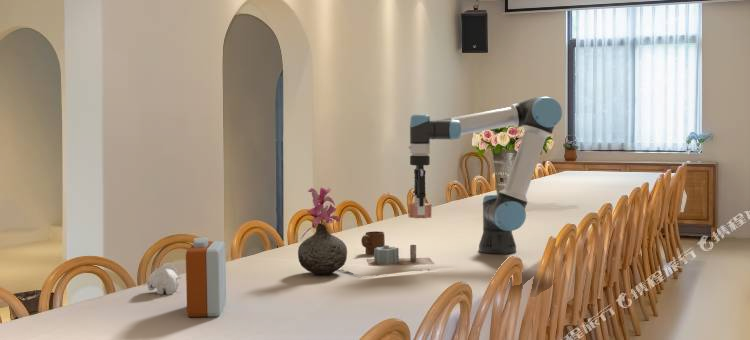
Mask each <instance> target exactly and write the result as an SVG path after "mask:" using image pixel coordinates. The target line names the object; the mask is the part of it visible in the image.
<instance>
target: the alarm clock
mask: <svg viewBox="0 0 750 340" xmlns="http://www.w3.org/2000/svg"><path fill="white" fill-rule="evenodd" d="M226 268H227V266H226V243H225V241H223V240H220V241H219V240H216V241H215V240H214V241H209V238H208V237H195V238H193V244H192V245H191V246H190V247H189V248H188V249H187V250H186V252H185V278H186V279H185V282H186V315H187V317H188V318H213V317H214V318H215V317H217V318H218V317H220V315H221V313H222V311H223V309H224V307H225V305H226V302H227V274H226V273H227V271H226V270H227V269H226Z"/></svg>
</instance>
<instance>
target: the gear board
mask: <svg viewBox="0 0 750 340" xmlns="http://www.w3.org/2000/svg"><path fill="white" fill-rule="evenodd" d="M389 247H390V245H389V244H387V245H386V244H385V245H384V246H383V249H389ZM409 247H410V248H409V255H410V256H409V257H402V258H401V257H400V258H399V262H397V263H389V264H385V263H380V264H379V263H377V262H374V258H366V259H365V260H366V262H367V264H368V266H369V267H370V266H374V267H375V266H406V265H407V266H410V265H411V266H413V265H415V266H416V265H417V266H418V265H435V263H434V261H433V260H432V259H431V258H430V257H417V245H416V244H410V246H409Z"/></svg>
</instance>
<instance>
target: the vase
mask: <svg viewBox="0 0 750 340" xmlns="http://www.w3.org/2000/svg"><path fill="white" fill-rule="evenodd" d="M307 192H308V193H311V197H312V204H313V205H314V207H312V208H310V209H308V210H307V213H308V214H309V215H310V216H311V217H313V218H312V219H311V220H312V224H311V227H310V228H308V229H307V230H305V231H306V232H304V233H303V234H302V236H301V238H300V240H302V239H303V238H304V236H305V235H306V233H308V232H309V231H310V230H311V229H315V232H314V234H312V235H311V236H309V237H307V238H306V239H305V240H303V241H302V242H301V243H300V244H299V246H298V249H297V257H298V258H297V259H298V262H299V264H300V266H301V267H302V268H303V269H305V270H306V271H308V272H310V273H311V274H312V275H313V276H316V277H327V276H332V275H333V274H334V273H335V272H337V271H339V270H340V269H341V268H343V266H344V265H345V264H346V262H347V257H348V249H347V245H346V243H345V242H344V241H343V240H342V239H341V238H339V237H337V236H335V235H333V234H332V233H330V232H329V231H328V228H327V227H326V224H332V223H333V220H334V221H336V222H337V223H339V222H340V216H339V215H332V214H333V213H334V212H336V211H337V209H336V208H335V206H336V204H335V202H334V200H333V198H332V197H330V196H327V194H328V193H331V188H330V187H328V188H327V189H326V188H323V187H320V188H319V193H318V192H317V190H316V189H315V188H312V187H311V188H309V190H307ZM325 202H330V204H329V205H328V204H326V205H325V207H324V204H325ZM332 204H333V205H334V206H332ZM323 221H325V222H324V223H325V224H324V223H323ZM316 224H317V226H316Z"/></svg>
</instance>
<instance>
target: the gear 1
mask: <svg viewBox="0 0 750 340" xmlns="http://www.w3.org/2000/svg"><path fill="white" fill-rule="evenodd" d="M399 250H400V249H399V247H395V246H389V249H383V247H376V248H374V255H373V256H374V258H373V259H374V262H377V263H379V264H380V263H385V264H389V263H397V262H399V257H400V256H399Z"/></svg>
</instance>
